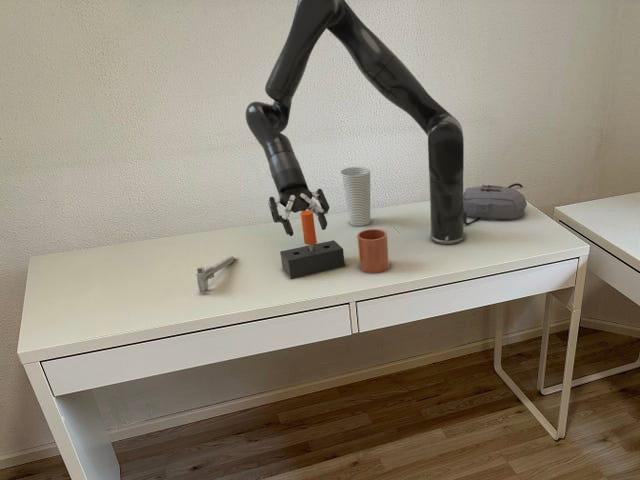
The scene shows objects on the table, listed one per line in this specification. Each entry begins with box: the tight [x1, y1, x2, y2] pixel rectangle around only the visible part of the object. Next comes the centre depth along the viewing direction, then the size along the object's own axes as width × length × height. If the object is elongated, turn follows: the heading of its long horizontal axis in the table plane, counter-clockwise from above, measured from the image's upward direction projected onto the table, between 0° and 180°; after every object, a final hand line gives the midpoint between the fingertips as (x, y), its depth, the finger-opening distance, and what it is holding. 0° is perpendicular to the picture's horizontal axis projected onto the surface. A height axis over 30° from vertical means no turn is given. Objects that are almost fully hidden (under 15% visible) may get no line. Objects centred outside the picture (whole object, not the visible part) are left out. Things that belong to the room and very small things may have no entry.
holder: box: [279, 239, 346, 280], centre depth 174 cm, size 6×14×5 cm, turn 122°
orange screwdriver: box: [300, 210, 318, 252], centre depth 171 cm, size 3×3×15 cm
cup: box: [340, 166, 371, 227], centre depth 197 cm, size 8×8×16 cm
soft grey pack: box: [463, 184, 528, 221], centre depth 207 cm, size 15×8×20 cm
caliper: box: [196, 255, 236, 294], centre depth 169 cm, size 20×1×6 cm, turn 176°
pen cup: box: [356, 228, 390, 274], centre depth 173 cm, size 7×7×9 cm
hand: (308, 231), depth 170 cm, fingers open, 8 cm apart
